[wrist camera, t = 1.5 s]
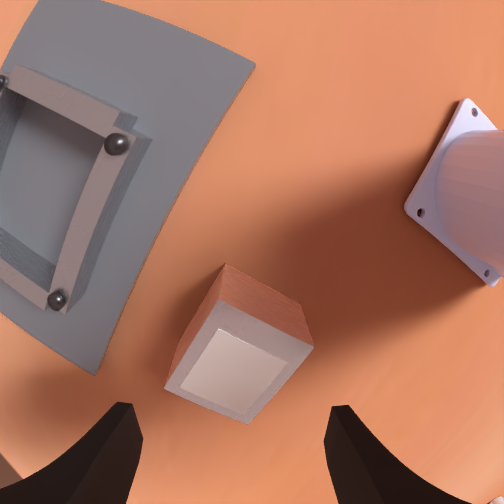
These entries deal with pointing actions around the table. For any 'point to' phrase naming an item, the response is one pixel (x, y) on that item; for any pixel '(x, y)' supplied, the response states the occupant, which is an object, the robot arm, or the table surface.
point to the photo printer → (497, 500)
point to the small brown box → (239, 347)
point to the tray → (97, 160)
